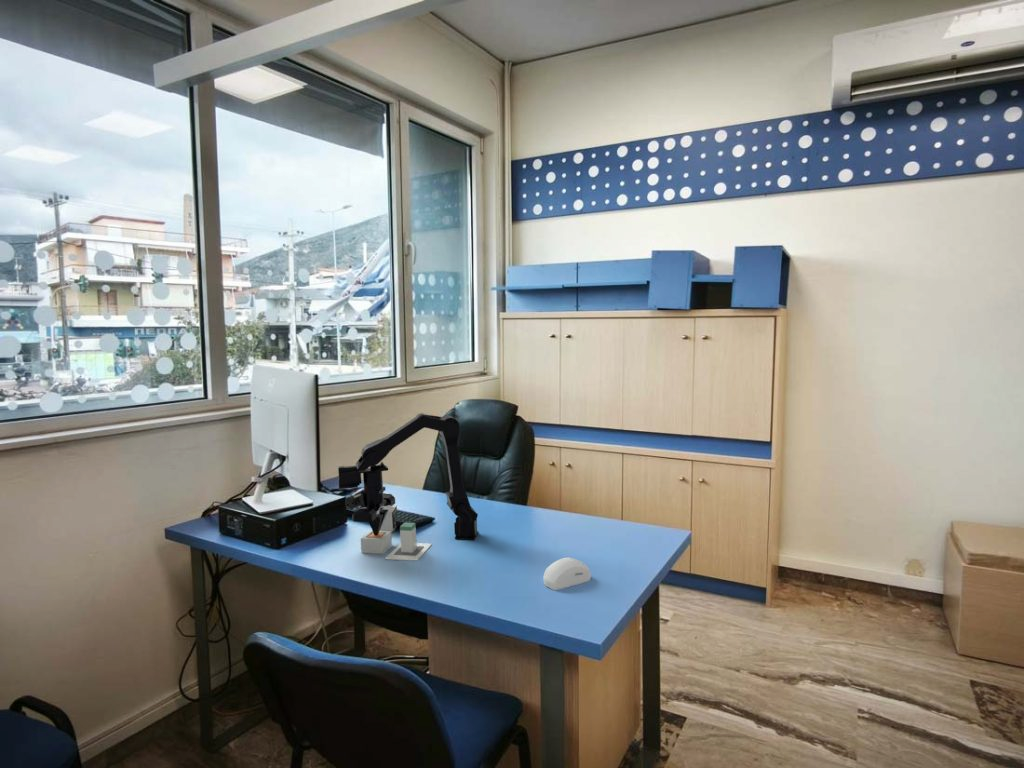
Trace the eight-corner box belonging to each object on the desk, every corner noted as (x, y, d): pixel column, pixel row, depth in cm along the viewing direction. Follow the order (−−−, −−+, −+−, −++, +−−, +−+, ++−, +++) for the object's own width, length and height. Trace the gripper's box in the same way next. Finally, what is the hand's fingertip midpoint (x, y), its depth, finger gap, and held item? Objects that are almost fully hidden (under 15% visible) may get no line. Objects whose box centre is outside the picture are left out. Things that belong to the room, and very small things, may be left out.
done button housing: (391, 545, 192) (391, 531, 191) (382, 553, 185) (382, 539, 185) (371, 544, 193) (370, 530, 193) (361, 552, 186) (360, 538, 186)
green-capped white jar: (416, 548, 187) (415, 522, 186) (412, 552, 184) (411, 526, 183) (405, 547, 188) (404, 522, 187) (401, 552, 184) (399, 526, 184)
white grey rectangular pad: (431, 544, 191) (431, 543, 191) (417, 561, 179) (417, 559, 178) (401, 543, 193) (401, 541, 193) (385, 559, 181) (385, 557, 181)
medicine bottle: (393, 532, 204) (391, 497, 203) (372, 532, 204) (370, 497, 203) (397, 524, 211) (396, 491, 210) (377, 525, 211) (375, 491, 210)
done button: (384, 540, 190) (383, 532, 190) (379, 544, 187) (379, 537, 187) (373, 539, 191) (373, 532, 191) (368, 544, 188) (368, 536, 187)
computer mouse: (594, 580, 162) (593, 558, 161) (552, 592, 156) (551, 568, 155) (580, 572, 167) (579, 550, 167) (539, 583, 161) (538, 560, 161)
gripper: (362, 477, 198) (365, 523, 199) (334, 493, 180) (337, 544, 181) (394, 477, 195) (397, 525, 197) (369, 494, 177) (372, 546, 179)
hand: (376, 534), depth 189 cm, fingers closed, pressing on done button
